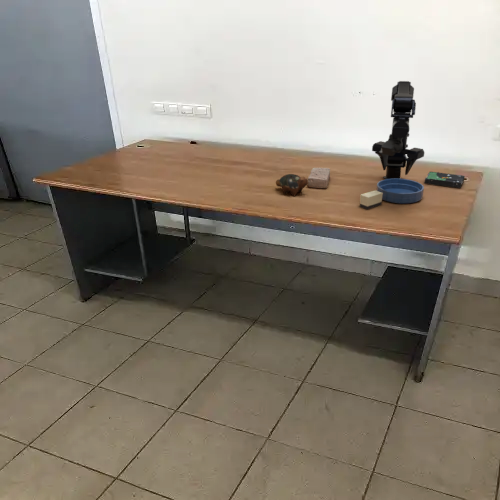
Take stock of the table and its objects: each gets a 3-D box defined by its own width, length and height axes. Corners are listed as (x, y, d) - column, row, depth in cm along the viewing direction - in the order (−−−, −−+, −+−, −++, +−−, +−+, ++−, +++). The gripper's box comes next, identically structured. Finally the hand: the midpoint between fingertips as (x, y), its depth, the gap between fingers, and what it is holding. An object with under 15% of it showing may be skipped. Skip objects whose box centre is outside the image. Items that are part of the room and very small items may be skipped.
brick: (311, 176, 230) (312, 166, 228) (330, 177, 229) (330, 167, 226) (307, 188, 216) (307, 178, 214) (326, 189, 214) (327, 179, 212)
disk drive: (463, 181, 220) (428, 176, 226) (464, 175, 219) (429, 170, 225) (460, 189, 212) (424, 183, 218) (461, 182, 210) (425, 177, 217)
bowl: (367, 191, 211) (368, 181, 209) (405, 186, 216) (406, 176, 214) (391, 207, 195) (393, 196, 193) (431, 200, 200) (433, 190, 198)
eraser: (367, 209, 194) (368, 197, 191) (359, 206, 196) (360, 194, 194) (381, 204, 198) (382, 192, 195) (373, 202, 201) (374, 190, 198)
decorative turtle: (303, 199, 205) (301, 180, 201) (271, 195, 213) (269, 177, 209) (313, 190, 212) (312, 172, 208) (282, 187, 220) (280, 169, 216)
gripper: (365, 131, 186) (362, 172, 193) (412, 139, 174) (407, 182, 181) (381, 126, 193) (378, 165, 200) (427, 133, 181) (421, 175, 188)
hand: (395, 172), depth 192 cm, fingers open, 9 cm apart
